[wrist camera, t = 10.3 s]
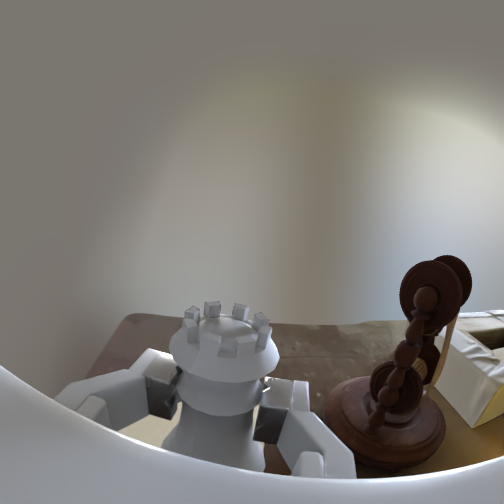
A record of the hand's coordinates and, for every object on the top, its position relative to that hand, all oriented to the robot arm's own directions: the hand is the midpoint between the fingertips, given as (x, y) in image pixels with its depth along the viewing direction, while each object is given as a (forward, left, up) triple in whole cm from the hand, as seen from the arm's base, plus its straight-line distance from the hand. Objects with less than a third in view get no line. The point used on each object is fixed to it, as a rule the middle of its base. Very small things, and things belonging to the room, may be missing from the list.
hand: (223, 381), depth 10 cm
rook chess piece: (0, -1, -5) cm, 5 cm away
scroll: (+16, +15, -17) cm, 27 cm away
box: (+42, +28, -17) cm, 53 cm away
